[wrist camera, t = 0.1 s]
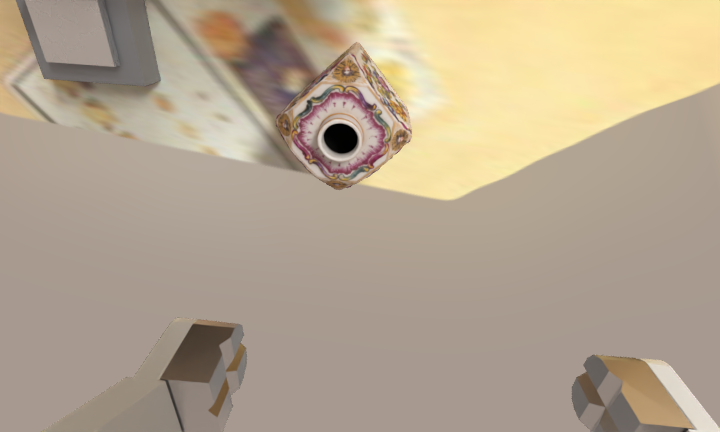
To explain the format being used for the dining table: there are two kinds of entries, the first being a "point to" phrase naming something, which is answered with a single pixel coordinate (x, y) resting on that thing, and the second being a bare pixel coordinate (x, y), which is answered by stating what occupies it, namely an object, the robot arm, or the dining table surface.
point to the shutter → (74, 31)
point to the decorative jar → (346, 121)
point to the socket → (129, 40)
